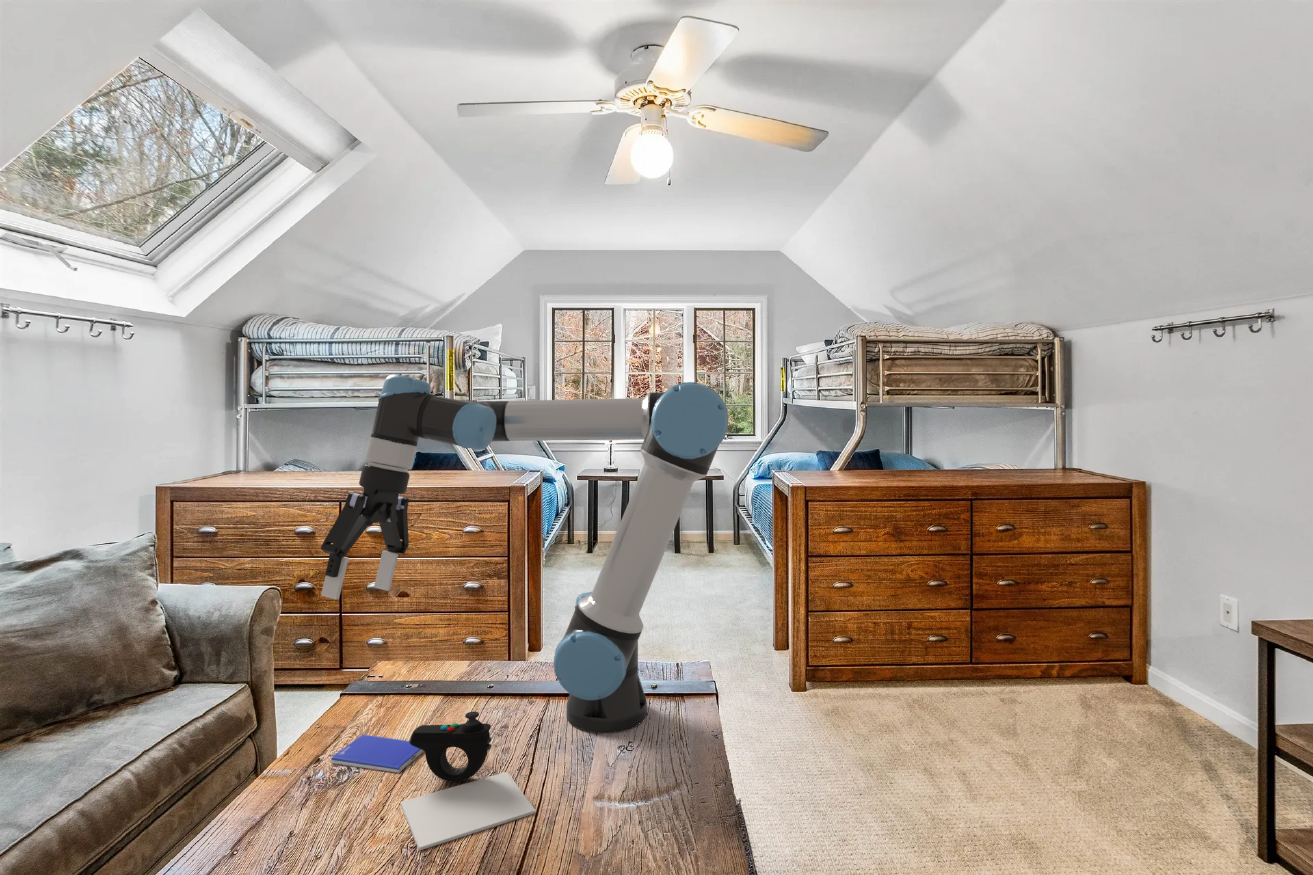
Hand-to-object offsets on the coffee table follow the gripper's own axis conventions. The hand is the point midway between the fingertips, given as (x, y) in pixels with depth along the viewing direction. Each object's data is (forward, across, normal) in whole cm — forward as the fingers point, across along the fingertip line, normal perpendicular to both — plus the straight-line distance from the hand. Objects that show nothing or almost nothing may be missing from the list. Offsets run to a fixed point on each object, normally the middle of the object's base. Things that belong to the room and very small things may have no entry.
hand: (357, 593), depth 112 cm
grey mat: (+24, +6, +30) cm, 38 cm away
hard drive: (+26, -4, +9) cm, 28 cm away
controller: (+24, 0, +24) cm, 33 cm away
